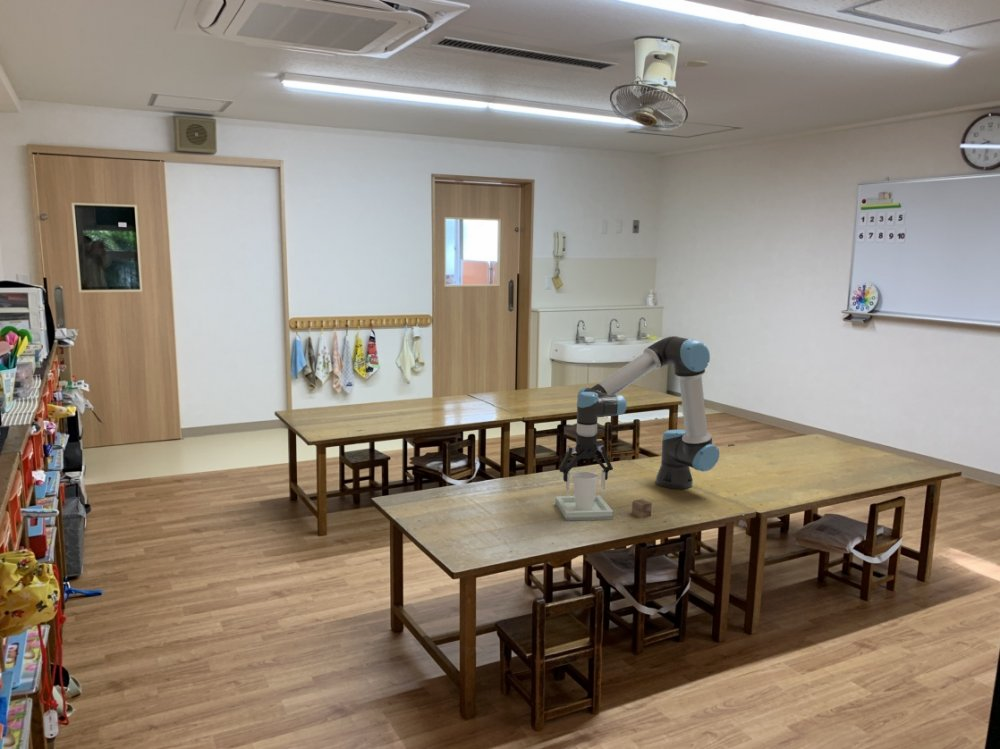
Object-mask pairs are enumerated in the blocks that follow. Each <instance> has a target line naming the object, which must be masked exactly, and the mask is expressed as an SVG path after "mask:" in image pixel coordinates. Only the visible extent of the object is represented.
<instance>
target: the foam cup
mask: <svg viewBox="0 0 1000 749" xmlns="http://www.w3.org/2000/svg"><path fill="white" fill-rule="evenodd" d="M572 482H573V493H574V494H573V496H575V505H576V509H577V510H580V511H591V510H592V509H593V505H594V499H595V495H597V494H596V493H597V492H596V491H597V487H598V483H599V474H597V473H595V472H594V471H593V472H592V471H584V470H583V471H576V472H573V474H572Z"/></svg>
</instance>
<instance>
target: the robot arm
mask: <svg viewBox="0 0 1000 749" xmlns="http://www.w3.org/2000/svg"><path fill="white" fill-rule="evenodd" d="M710 355H711V354H710V351H709V348H708V347H707V345H706V344H705V343H703V342H702V341H699V340H697V339H693V338H685V337H680V336H676V335H675V336H668V337H665V338H661V339H660V340H657V341H656V342H654V343H652V344H651V345H649V346H648V347H646V348H644V350H643V353H642V354H640V355H639V356H637V357H636V358H634V359H633V360H630V362H628V363H627V364H625V365H624V366H622V367H620V368H619V369H618V370H616V371H615V372H613V373H612V374H609V376H607V377H605V378H603V380H601V381H599V382H598V383H596V384H595V385H593V386H591V387H583V388H581V389H580V390H579V391H578V393H577V397H576V398H577V401H576V402H577V403H576V433H577V434H576V438H575V439H576V440H575V441H576V442H575V446H570V445H568V446H567V449H566V453H565V455H564V457H563V459H562V460H561V463H560V464H559V466H558V471H559V472H560V473H562V474H563V475H562V476H563V477H562V478H563V479H562V480H563V481H564V482H565V490H566V491H568V492H569V491H570V482H571V480H570V474H571V473H570V471H571V470H572V468H573V467H574V466H575V465H576V464H577V463H578V461H580V460H581V459H582V460H585V459H589V460H590V459H592V458H593V459H594V460H595V461H596V463H597V464H598V465H599V466H600V467H601V468H602V470H601V472H600V473H601V474H600V487H601V489H602V490H605V488H606V481H607V480H608V478H609V477H608V476H609V475H608V473H609V472H610V471H613V469H614V468H613V465H612V463H611V461H610V459H609V457H608V455H607V453H606V447H605V446H604V445H603V444H601V445H599V446H597V445H598V441H597V440H598V436H597V434H598V418H603V417H604V418H605V417H613V416H614V417H616V416H619V415H623V414H625V413H626V411H627V400H626V398H625V397H624V395H622V394H619V393H620V392H622V391H623V390H625V389H626V388H628V387H629V386H630V385H632V384H634V383H635V382H637V381H638V380H640V379H642V378H644V376H645V375H647V374H649V373H650V372H652V371H653V370H660V369H661V368H662V367H665V366H673V370H674V376H675V377H677V378H678V380H679V388H680V398H681V406H682V415H683V425H684V426H683V427H684V429H668V430H666V431H664V432H663V434H662V443H661V444H662V445H661V446H662V447H661V459H660V460H661V463H660V466H659V469H658V472H657V473H656V477H655V484H657V485H659V486H660V487H664V488H667V489H674V490H685V489H690V488H691V487H693V484H694V483H693V479H694V478H693V477H692V476H693V475H692V473H691V468H692V469H694V470H696V471H700V472H708V471H710V470H712V469H714V467H715V466H716V464H717V463H718V461H719V458H720V450H719V448H718V446H716V445H715V444H713V438H712V437H713V435H712V434H710V433H709V432H708V427H707V426H708V425H707V416H706V415H707V414H706V407H705V397H704V387H703V377H702V376H703V375H704V374H705V373H706V368H707V367H708V365H709V364H708V363H710V360H711V356H710ZM598 451H599V453H600V454H601V456H602V457H603V459H604V460H603V461H605V464H606V465H607V466H605V465H604V463H603V462H602V461H601V460H600V458H599V457H598V456H597V455H596V453H597V452H598ZM574 452H576V453H575V455H574V456H573V458H572V459H571V460H570V458H571V456H572V454H573V453H574Z"/></svg>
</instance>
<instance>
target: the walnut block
mask: <svg viewBox="0 0 1000 749" xmlns="http://www.w3.org/2000/svg"><path fill="white" fill-rule="evenodd" d="M631 502H632V503H631V514H632V515H633V516H636V517H638V518H640V519H642V518H646V517H647V518H648V517H650V516H652V504H653V503H652V502H650V501H648V500H647V499H646V500H645V499H644V498H641V499H636V500H632V501H631Z"/></svg>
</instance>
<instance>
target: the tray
mask: <svg viewBox="0 0 1000 749" xmlns="http://www.w3.org/2000/svg"><path fill="white" fill-rule="evenodd" d="M554 504H555V505H556V507H557V509H558V511H559V513H560V514H561V515H562V517H563V519H564V521H566V522H569V521H570V522H571V521H596V520H597V521H598V520H599V521H600V520H601V521H602V520H603V521H604V520H613V519H614V510H613V509H611V507H610V506H609V504H608V503H607V502H606V501H605V499H604V498H603V497H602V496H601V495H599V494H598V495H597V494H595V499H594V505H593V509H592V510H591V511H580V510H577V509H576V505H575V495H570V496H568V495H565V496H564V495H563V496H560V495H559V496H555V503H554Z"/></svg>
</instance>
